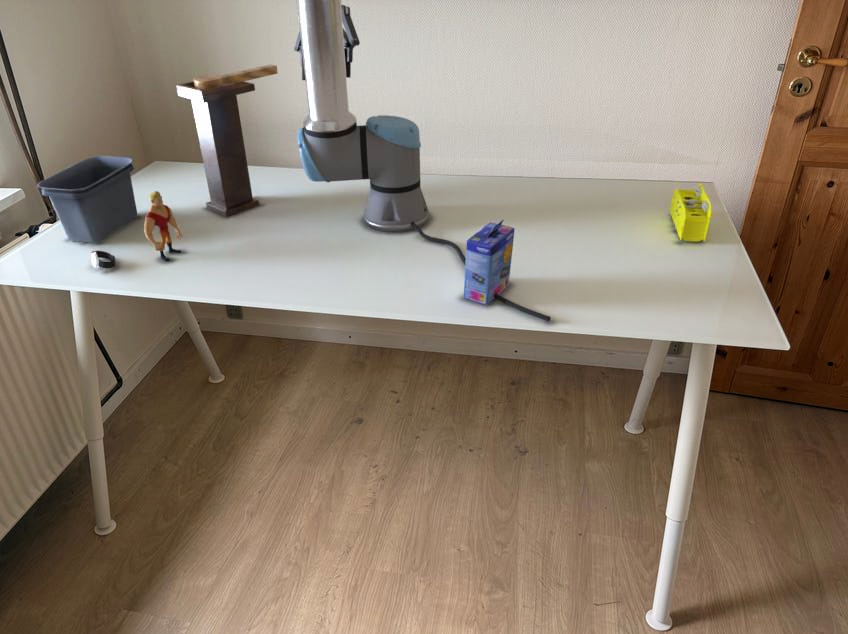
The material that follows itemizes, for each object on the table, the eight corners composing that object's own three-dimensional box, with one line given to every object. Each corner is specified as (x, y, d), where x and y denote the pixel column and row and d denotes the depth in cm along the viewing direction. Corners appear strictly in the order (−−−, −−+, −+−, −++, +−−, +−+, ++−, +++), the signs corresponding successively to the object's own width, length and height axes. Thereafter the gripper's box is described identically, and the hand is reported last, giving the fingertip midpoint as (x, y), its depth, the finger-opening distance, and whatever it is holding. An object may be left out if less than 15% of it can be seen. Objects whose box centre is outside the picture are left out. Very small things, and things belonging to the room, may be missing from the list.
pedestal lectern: (246, 193, 181) (227, 73, 164) (271, 202, 174) (253, 79, 158) (201, 208, 173) (175, 84, 156) (225, 219, 167) (201, 91, 150)
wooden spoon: (266, 71, 169) (265, 61, 168) (282, 74, 165) (281, 64, 164) (189, 88, 157) (187, 78, 155) (204, 92, 153) (203, 82, 152)
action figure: (163, 266, 146) (147, 199, 138) (150, 264, 148) (132, 197, 139) (189, 248, 154) (175, 183, 145) (176, 246, 155) (161, 182, 146)
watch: (87, 263, 150) (83, 247, 147) (108, 256, 152) (104, 241, 150) (101, 274, 145) (96, 258, 142) (122, 267, 147) (117, 252, 145)
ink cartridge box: (488, 306, 126) (492, 234, 118) (462, 299, 129) (464, 228, 121) (511, 284, 133) (516, 214, 125) (486, 278, 136) (489, 209, 128)
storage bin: (98, 250, 155) (80, 189, 147) (43, 243, 159) (22, 184, 151) (153, 214, 171) (139, 158, 163) (102, 209, 176) (85, 154, 168)
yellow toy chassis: (706, 245, 144) (715, 207, 139) (678, 243, 145) (686, 206, 140) (694, 215, 157) (702, 180, 152) (667, 214, 158) (675, 179, 153)
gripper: (280, -9, 175) (281, 80, 180) (354, -24, 160) (353, 73, 165) (300, -2, 180) (301, 83, 186) (374, -16, 166) (372, 77, 171)
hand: (325, 78), depth 175 cm, fingers open, 13 cm apart
